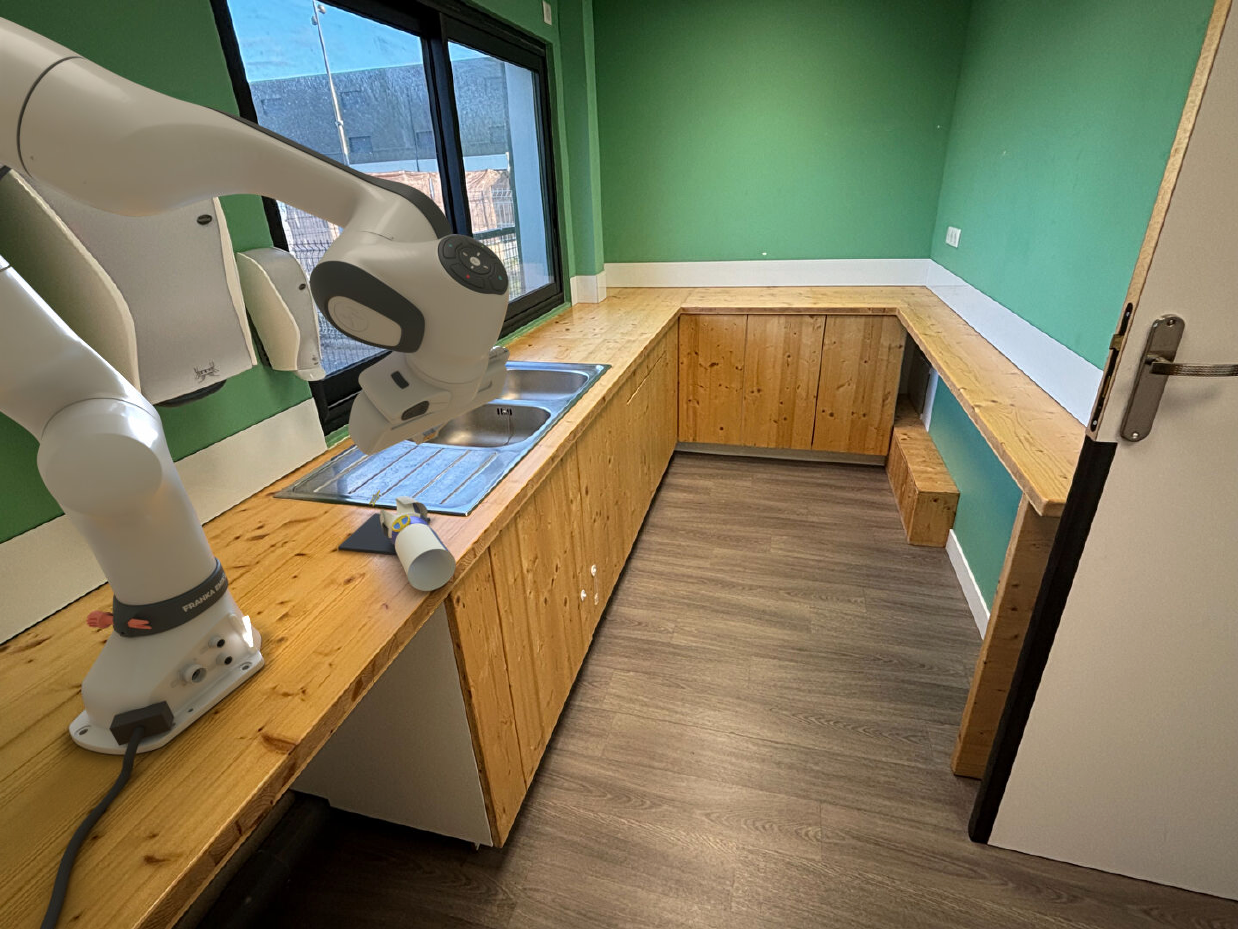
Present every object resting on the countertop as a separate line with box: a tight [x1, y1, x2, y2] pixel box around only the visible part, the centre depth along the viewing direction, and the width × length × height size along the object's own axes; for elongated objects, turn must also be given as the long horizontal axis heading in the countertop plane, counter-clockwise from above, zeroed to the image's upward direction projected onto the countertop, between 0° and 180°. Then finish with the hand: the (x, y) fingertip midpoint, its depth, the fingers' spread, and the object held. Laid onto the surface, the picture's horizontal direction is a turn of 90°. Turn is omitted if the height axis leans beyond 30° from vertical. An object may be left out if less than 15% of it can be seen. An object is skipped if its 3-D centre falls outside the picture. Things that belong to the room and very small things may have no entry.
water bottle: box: [368, 489, 457, 592], centre depth 105 cm, size 8×9×25 cm
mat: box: [337, 513, 431, 556], centre depth 113 cm, size 12×12×1 cm
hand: (423, 437), depth 78 cm, fingers closed
